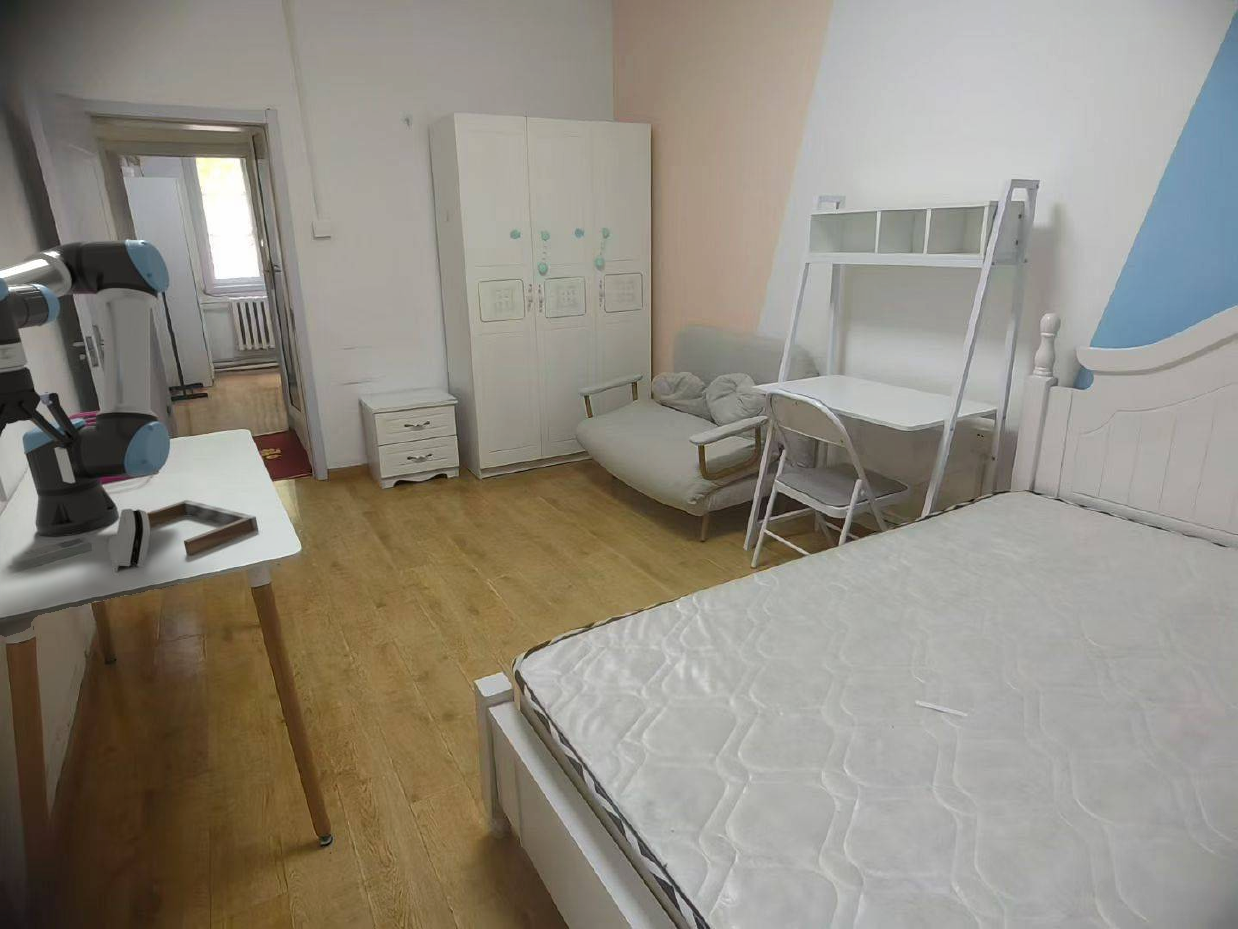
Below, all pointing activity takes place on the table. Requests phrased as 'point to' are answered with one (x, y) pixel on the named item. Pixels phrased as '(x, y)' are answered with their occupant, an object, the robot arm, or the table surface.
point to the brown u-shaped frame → (232, 520)
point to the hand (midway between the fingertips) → (36, 490)
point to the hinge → (130, 539)
